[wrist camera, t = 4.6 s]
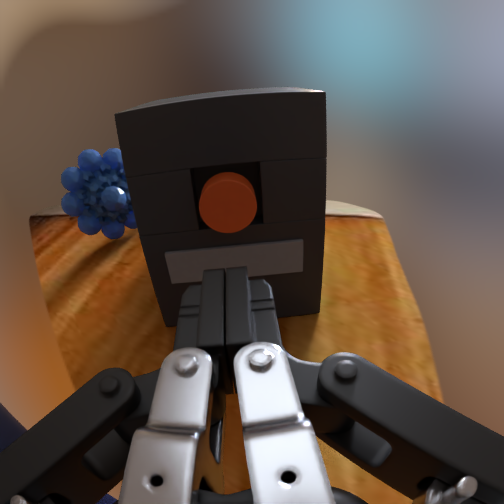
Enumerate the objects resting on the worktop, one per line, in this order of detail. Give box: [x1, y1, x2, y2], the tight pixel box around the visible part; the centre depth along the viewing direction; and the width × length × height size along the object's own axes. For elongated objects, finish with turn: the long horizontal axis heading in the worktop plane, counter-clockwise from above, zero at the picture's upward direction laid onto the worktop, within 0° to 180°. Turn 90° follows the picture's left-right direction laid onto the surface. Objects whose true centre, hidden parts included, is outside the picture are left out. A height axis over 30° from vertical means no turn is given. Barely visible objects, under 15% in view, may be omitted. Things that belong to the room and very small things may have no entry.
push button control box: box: [115, 87, 327, 327], centre depth 24 cm, size 12×10×16 cm
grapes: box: [61, 148, 137, 239], centre depth 34 cm, size 12×7×12 cm, turn 132°
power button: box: [199, 172, 257, 233], centre depth 18 cm, size 3×2×3 cm, turn 94°
